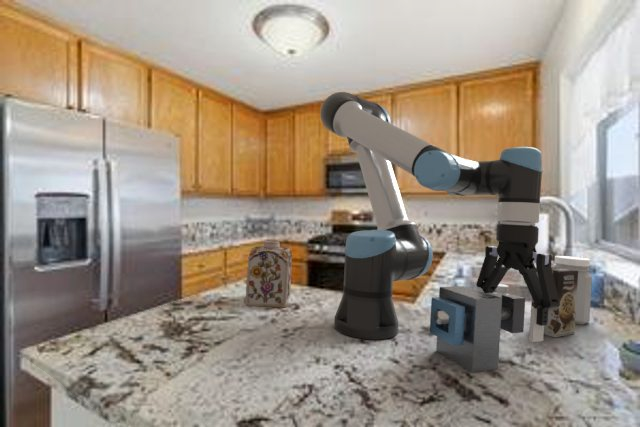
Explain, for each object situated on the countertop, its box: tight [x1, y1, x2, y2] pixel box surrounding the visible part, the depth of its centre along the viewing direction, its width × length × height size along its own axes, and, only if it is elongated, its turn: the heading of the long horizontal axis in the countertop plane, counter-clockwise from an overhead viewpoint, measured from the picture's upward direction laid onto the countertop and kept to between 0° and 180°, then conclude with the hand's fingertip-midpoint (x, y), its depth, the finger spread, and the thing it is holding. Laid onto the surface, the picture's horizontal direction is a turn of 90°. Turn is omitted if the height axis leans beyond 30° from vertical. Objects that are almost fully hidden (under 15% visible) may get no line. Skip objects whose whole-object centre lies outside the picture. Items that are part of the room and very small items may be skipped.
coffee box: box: [530, 266, 578, 338], centre depth 89 cm, size 9×6×16 cm
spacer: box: [429, 296, 465, 346], centre depth 67 cm, size 2×7×7 cm, turn 19°
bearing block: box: [435, 285, 502, 373], centre depth 68 cm, size 6×10×13 cm, turn 19°
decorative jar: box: [245, 240, 293, 308], centre depth 103 cm, size 12×12×18 cm
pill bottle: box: [493, 283, 510, 298], centre depth 96 cm, size 6×6×10 cm
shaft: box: [434, 294, 526, 334], centre depth 69 cm, size 20×3×7 cm, turn 109°
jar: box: [553, 255, 593, 325], centre depth 101 cm, size 10×10×18 cm
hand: (511, 331), depth 72 cm, fingers open, 10 cm apart
